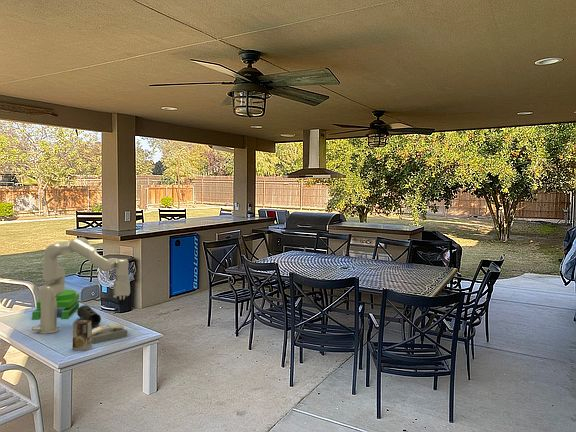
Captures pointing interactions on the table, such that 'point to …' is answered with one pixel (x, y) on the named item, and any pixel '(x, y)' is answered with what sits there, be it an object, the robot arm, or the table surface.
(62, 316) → the tank
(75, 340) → the coffee box
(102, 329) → the block
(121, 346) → the table surface
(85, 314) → the muzzle brake
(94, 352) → the table surface
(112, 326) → the far rocker
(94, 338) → the switch block
